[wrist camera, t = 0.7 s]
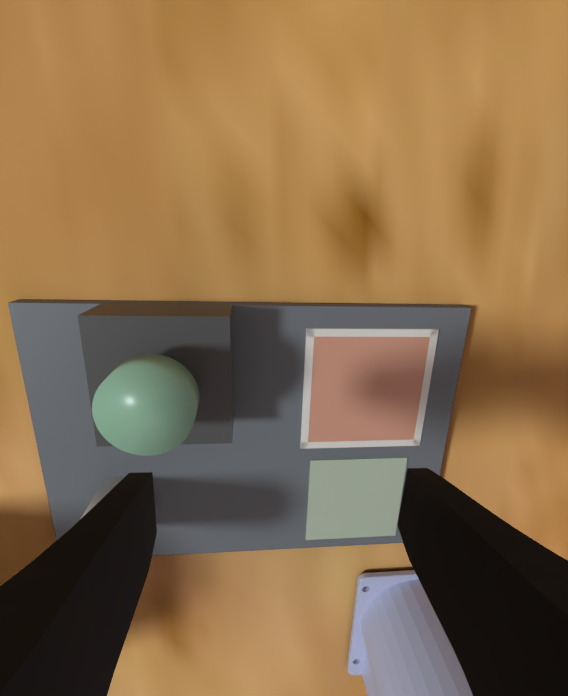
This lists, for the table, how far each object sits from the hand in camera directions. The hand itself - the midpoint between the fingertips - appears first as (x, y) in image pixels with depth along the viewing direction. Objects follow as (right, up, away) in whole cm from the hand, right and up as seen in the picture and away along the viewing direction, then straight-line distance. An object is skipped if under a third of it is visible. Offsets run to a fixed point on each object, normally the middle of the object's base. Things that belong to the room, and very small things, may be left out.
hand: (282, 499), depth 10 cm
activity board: (-2, -1, +10) cm, 10 cm away
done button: (-5, +2, +4) cm, 7 cm away
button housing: (-5, +4, +8) cm, 10 cm away
